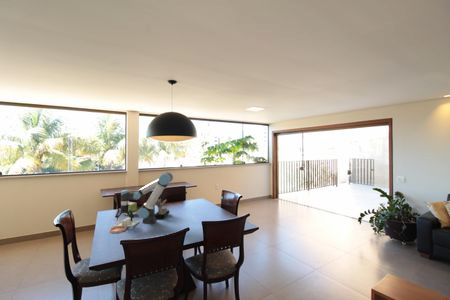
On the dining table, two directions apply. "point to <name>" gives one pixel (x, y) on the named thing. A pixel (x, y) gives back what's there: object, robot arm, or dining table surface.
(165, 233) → the dining table surface
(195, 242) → the dining table surface
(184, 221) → the dining table surface
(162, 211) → the coral
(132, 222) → the parts tray
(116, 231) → the bowl
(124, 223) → the pale grey block
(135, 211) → the tea box
